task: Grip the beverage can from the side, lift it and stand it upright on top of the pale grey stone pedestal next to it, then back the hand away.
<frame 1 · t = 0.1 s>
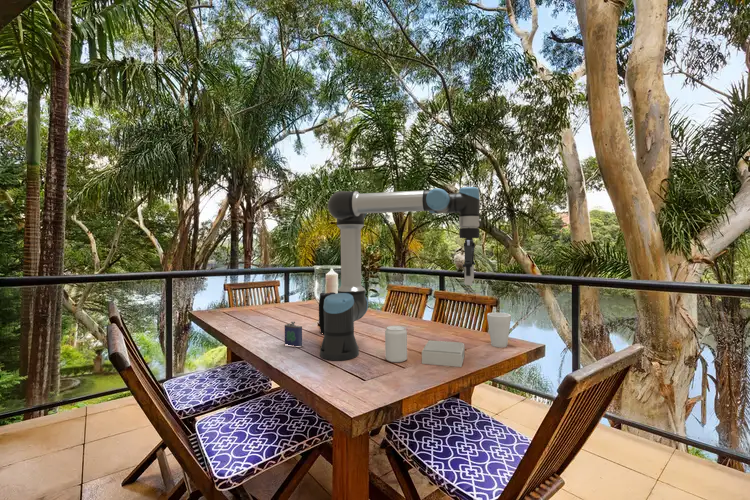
hand: (469, 283, 143), 28 cm above the table, tool pointing down, fingers open, 13 cm apart
portable speaker: (328, 333, 181), on the table
foam cup: (499, 345, 156), on the table
pedestal: (443, 359, 138), on the table
beverage can: (396, 360, 138), on the table
flask: (293, 346, 158), on the table
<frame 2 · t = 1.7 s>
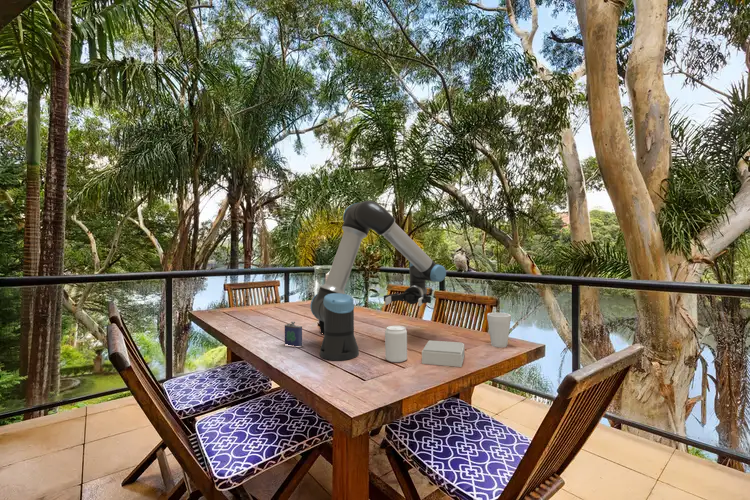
hand: (402, 302, 148), 20 cm above the table, tool horizontal, fingers open, 13 cm apart
nothing on the table moved.
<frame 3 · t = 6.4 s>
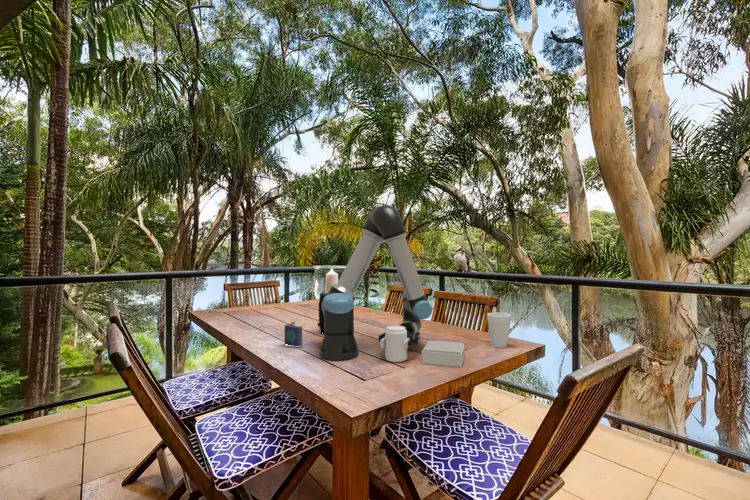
hand: (392, 345, 134), 7 cm above the table, tool horizontal, fingers closed on beverage can, 8 cm apart
beverage can: (396, 360, 138), on the table, touching gripper
everything else where it was.
when the fingers open (13 cm above the table, at t = 10.9 s): beverage can drops 1 cm, resting on pedestal.
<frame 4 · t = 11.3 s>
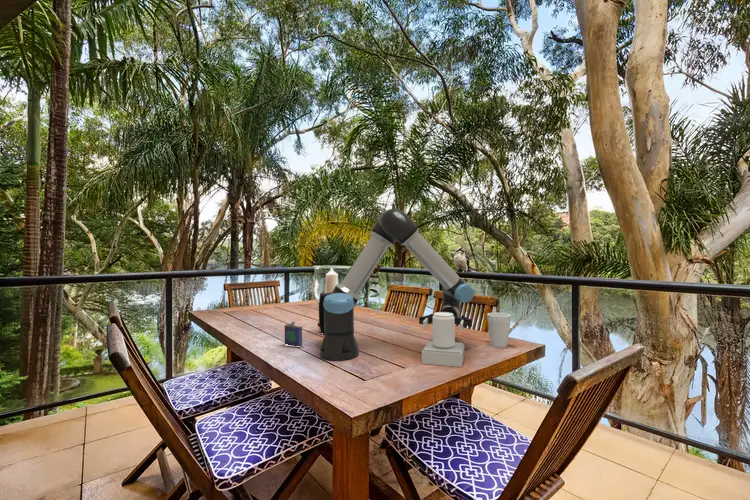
hand: (442, 326, 135), 13 cm above the table, tool horizontal, fingers open, 13 cm apart
beverage can: (443, 346, 138), point 5 cm above the table, touching pedestal
everything else where it was.
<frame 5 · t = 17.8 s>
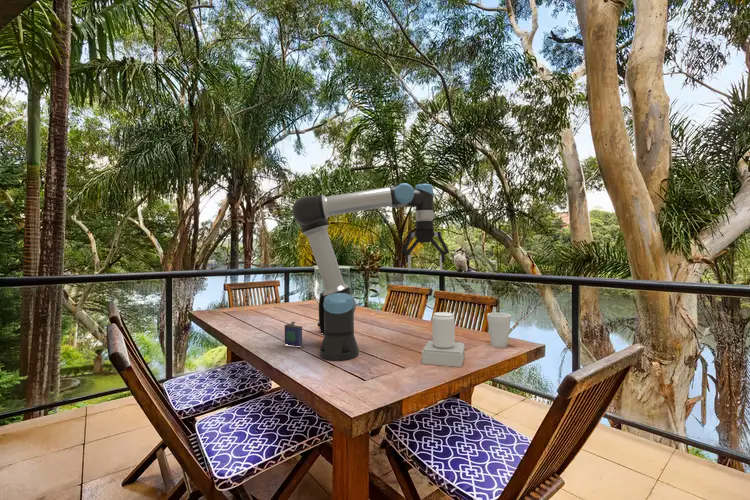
hand: (425, 270, 159), 32 cm above the table, tool pointing down, fingers open, 13 cm apart
nothing on the table moved.
at the end: beverage can inside the target area on the pedestal (0.1 cm from its centre), point 4.8 cm above the pedestal's base; beverage can tilted 0°; the gripper is holding nothing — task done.
